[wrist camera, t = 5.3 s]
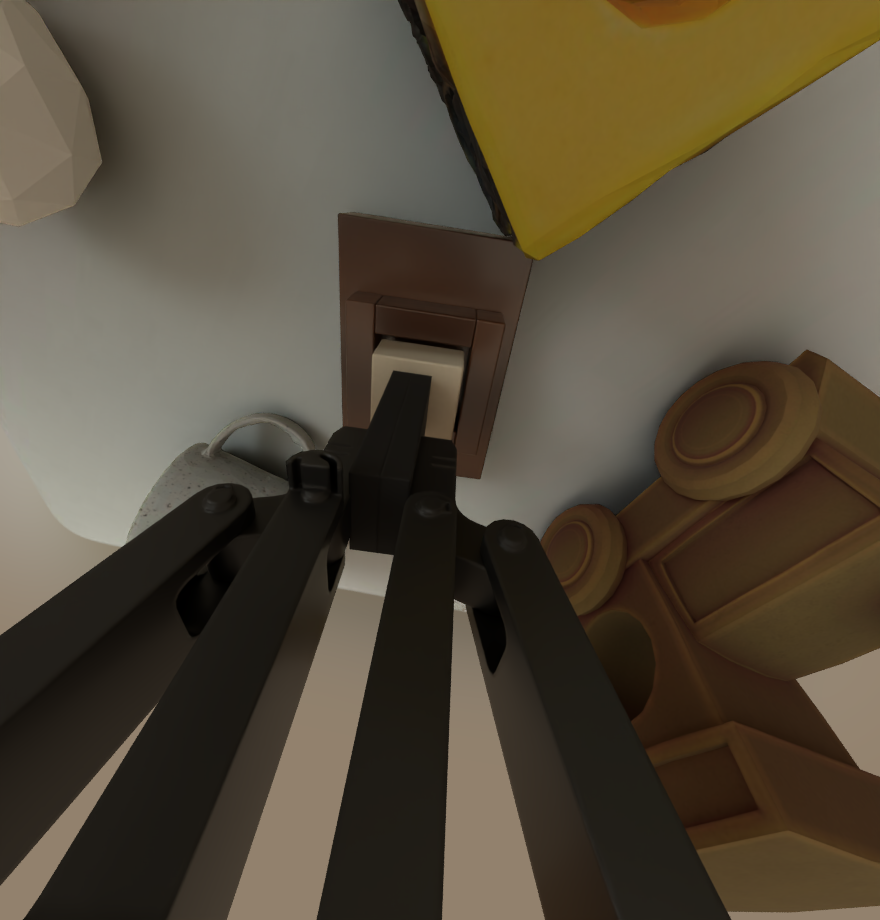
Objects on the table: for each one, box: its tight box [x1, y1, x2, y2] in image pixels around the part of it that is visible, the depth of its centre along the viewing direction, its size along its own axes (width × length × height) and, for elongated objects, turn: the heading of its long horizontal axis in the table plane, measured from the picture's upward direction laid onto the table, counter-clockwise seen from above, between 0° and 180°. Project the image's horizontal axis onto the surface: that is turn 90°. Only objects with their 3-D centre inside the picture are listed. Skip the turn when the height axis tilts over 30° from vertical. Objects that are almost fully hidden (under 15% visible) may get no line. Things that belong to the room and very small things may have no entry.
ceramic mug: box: [126, 413, 316, 544], centre depth 22 cm, size 11×8×8 cm
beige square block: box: [370, 339, 464, 440], centre depth 16 cm, size 4×4×2 cm
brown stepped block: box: [338, 212, 533, 479], centre depth 18 cm, size 12×8×4 cm, turn 173°
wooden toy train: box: [540, 350, 880, 912], centre depth 17 cm, size 20×11×17 cm, turn 152°
